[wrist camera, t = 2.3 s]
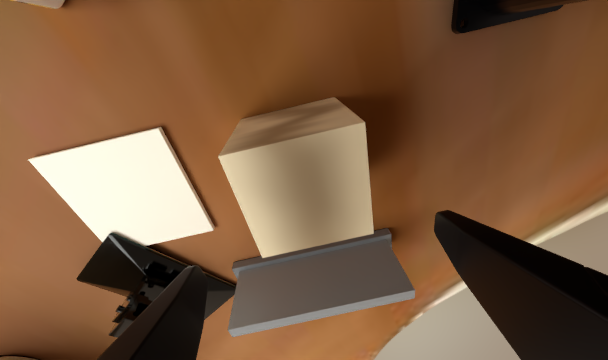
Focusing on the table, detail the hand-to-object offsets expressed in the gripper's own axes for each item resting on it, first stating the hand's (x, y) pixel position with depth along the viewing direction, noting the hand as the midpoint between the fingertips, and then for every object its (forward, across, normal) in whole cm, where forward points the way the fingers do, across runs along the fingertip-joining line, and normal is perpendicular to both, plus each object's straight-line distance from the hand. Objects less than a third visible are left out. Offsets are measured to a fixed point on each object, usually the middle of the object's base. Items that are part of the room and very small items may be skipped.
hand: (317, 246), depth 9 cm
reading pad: (+10, +13, +1) cm, 16 cm away
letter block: (+10, 0, 0) cm, 10 cm away
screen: (+10, +1, +11) cm, 14 cm away
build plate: (+10, +16, +10) cm, 21 cm away
